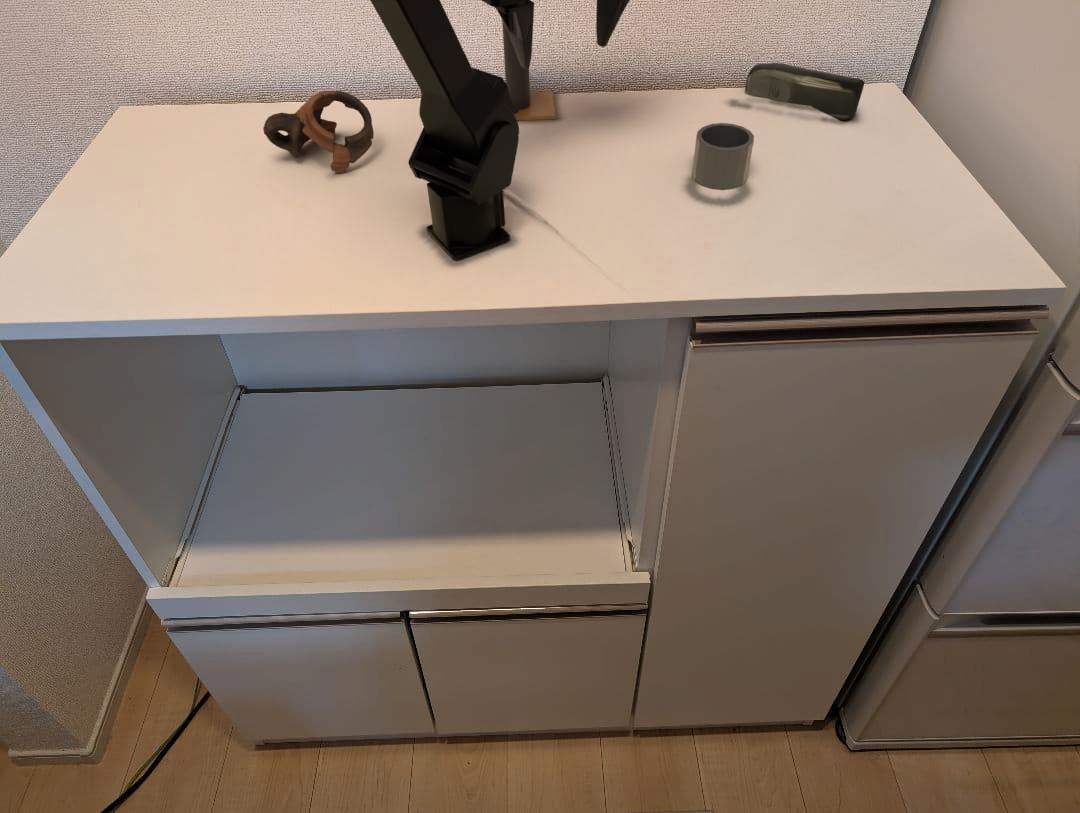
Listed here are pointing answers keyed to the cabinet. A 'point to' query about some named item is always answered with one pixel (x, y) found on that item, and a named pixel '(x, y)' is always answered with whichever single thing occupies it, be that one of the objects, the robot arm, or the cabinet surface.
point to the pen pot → (722, 156)
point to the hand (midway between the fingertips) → (564, 56)
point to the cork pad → (538, 107)
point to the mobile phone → (806, 88)
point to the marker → (515, 74)
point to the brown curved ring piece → (321, 129)
